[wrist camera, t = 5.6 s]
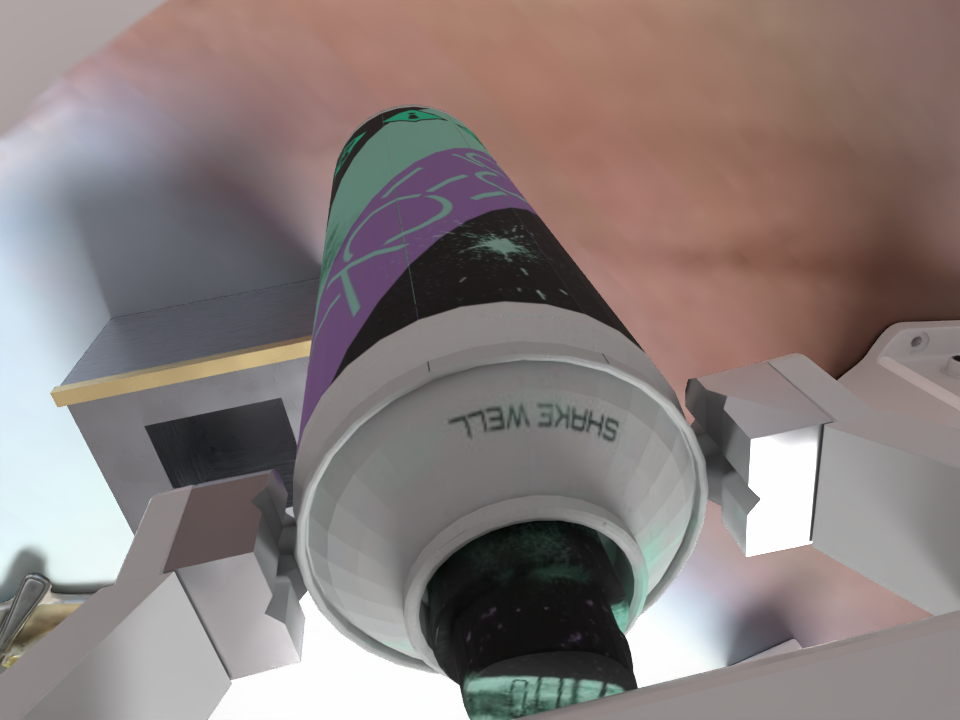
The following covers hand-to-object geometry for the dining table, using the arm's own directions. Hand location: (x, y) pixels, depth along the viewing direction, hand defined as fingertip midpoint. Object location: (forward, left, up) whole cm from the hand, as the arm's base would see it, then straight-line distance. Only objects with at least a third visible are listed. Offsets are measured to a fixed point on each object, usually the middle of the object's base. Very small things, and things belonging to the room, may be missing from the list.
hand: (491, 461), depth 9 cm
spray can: (0, 0, -17) cm, 17 cm away
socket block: (+12, +15, -33) cm, 38 cm away
